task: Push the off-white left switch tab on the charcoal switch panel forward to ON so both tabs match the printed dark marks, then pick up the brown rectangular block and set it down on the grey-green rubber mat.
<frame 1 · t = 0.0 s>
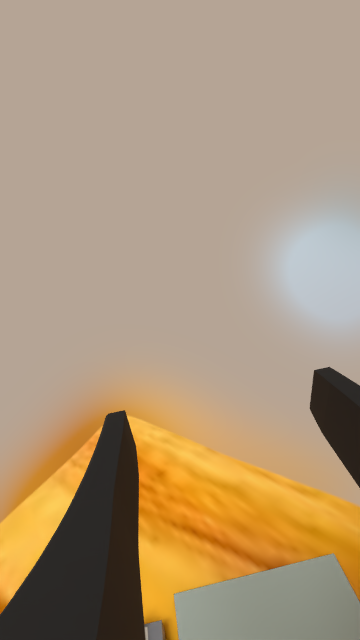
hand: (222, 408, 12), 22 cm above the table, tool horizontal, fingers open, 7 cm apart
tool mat: (271, 629, 23), on the table
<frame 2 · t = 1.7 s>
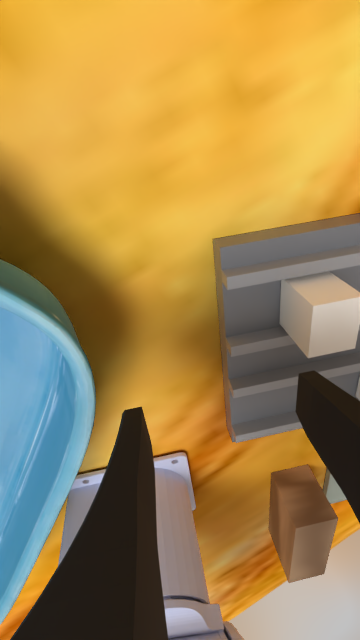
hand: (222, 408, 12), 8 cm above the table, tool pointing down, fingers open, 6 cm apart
switch tab 2: (316, 311, 17), point 3 cm above the table, slide at 0.0 cm
brown rectangular block: (286, 497, 32), on the table
switch panel: (321, 329, 22), on the table
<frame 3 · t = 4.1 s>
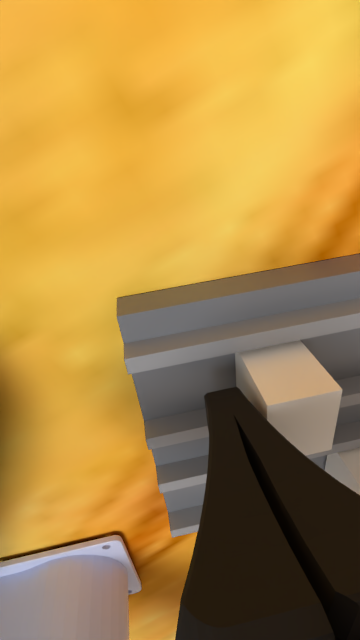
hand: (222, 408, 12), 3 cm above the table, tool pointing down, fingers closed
switch tab 2: (280, 394, 13), point 3 cm above the table, slide at 1.0 cm, touching gripper
switch panel: (278, 397, 17), on the table
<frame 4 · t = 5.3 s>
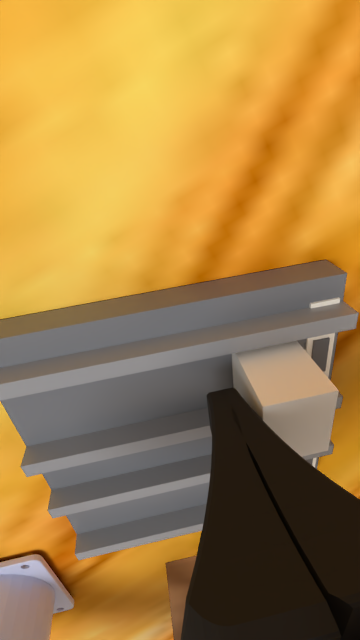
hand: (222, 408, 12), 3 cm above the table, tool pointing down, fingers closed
switch tab 2: (277, 395, 12), point 3 cm above the table, slide at 6.1 cm, touching gripper
brown rectangular block: (193, 583, 27), on the table
switch panel: (183, 418, 17), on the table
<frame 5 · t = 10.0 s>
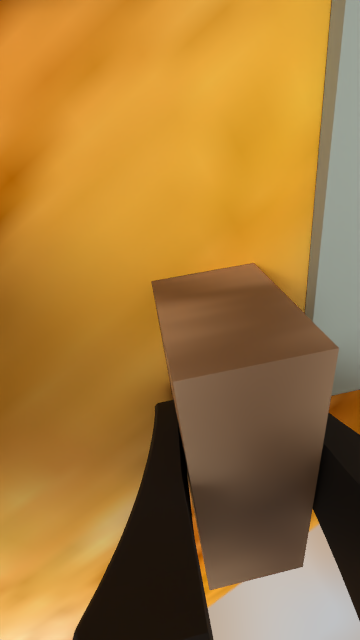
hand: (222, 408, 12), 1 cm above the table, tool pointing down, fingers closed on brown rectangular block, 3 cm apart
brown rectangular block: (213, 383, 13), on the table, touching gripper
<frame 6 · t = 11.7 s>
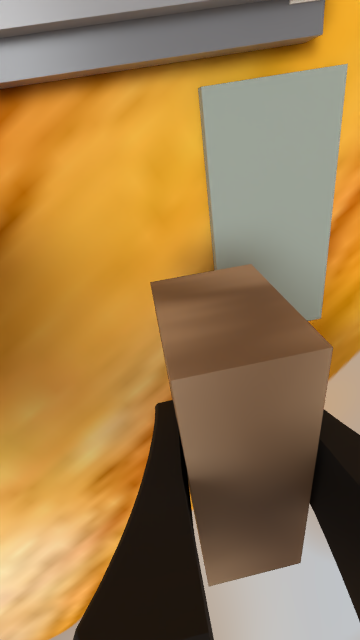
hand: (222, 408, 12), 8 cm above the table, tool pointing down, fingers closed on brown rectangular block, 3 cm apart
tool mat: (269, 224, 18), on the table
brown rectangular block: (211, 382, 14), point 7 cm above the table, touching gripper
when the fingers open (3 cm above the table, at t = 13.4 s): brown rectangular block stays where it is, resting on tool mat.
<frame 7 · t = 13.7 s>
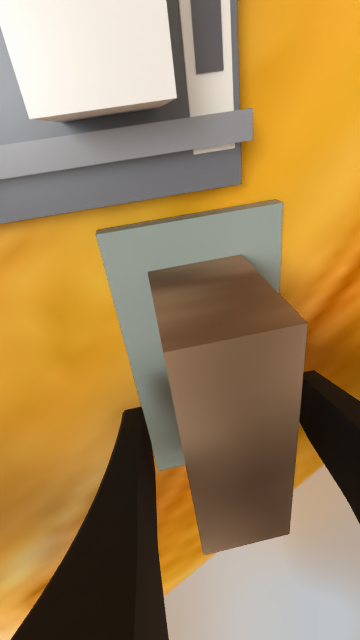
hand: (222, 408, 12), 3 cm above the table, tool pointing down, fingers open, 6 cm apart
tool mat: (204, 357, 15), on the table
brown rectangular block: (206, 367, 14), point 1 cm above the table, touching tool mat
switch tab 1: (88, 19, 6), point 3 cm above the table, slide at 6.0 cm
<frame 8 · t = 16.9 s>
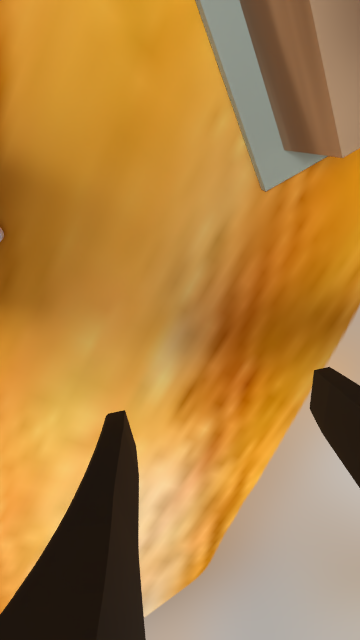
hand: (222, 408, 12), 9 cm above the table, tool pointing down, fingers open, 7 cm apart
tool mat: (280, 9, 14), on the table
brown rectangular block: (286, 8, 14), point 1 cm above the table, touching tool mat
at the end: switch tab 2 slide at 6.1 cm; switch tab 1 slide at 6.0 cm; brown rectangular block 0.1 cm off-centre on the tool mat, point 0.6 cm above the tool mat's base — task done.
